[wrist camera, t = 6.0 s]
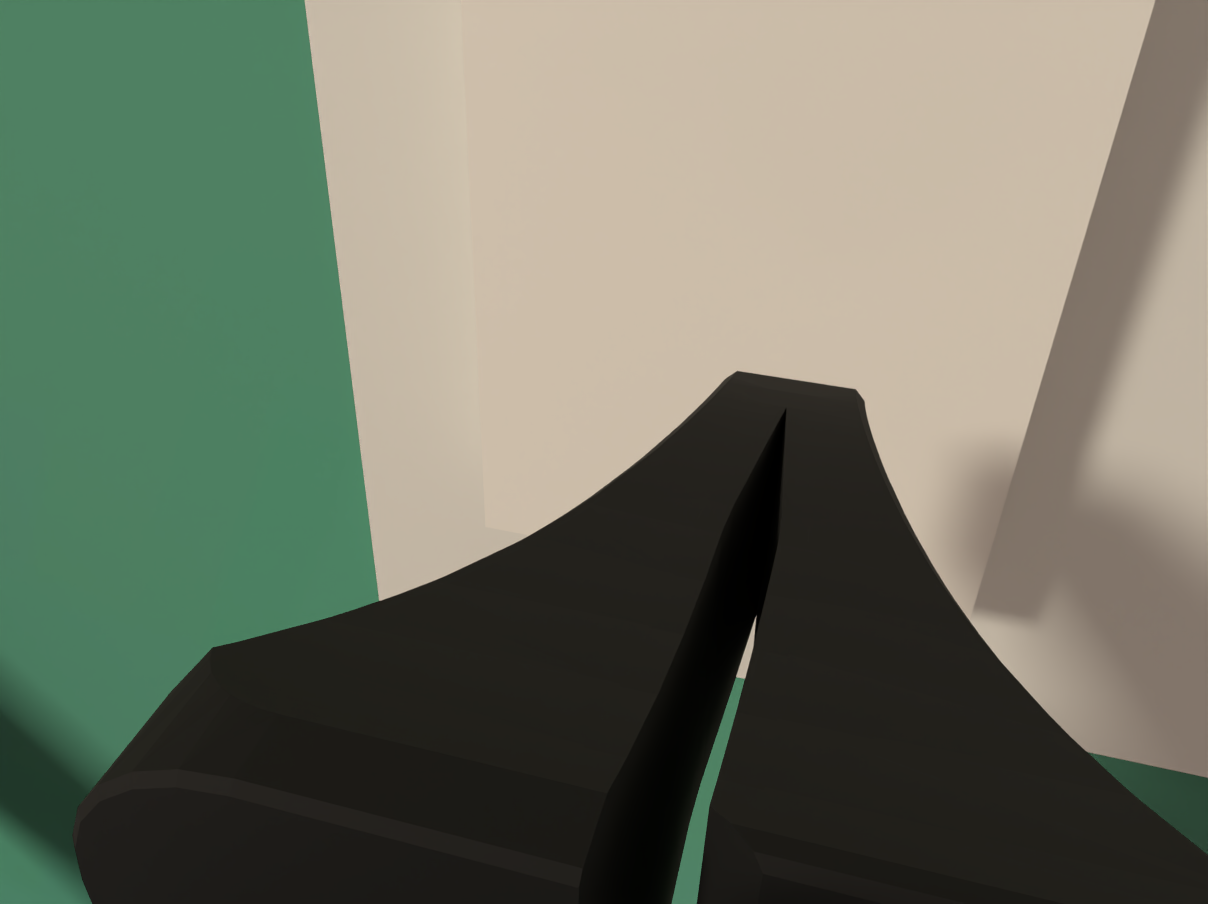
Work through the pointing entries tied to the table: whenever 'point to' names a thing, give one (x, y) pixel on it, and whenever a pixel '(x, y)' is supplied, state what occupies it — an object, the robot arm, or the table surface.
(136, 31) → the table surface
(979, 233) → the tile
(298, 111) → the table surface
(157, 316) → the table surface
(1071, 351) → the mat
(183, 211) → the table surface
